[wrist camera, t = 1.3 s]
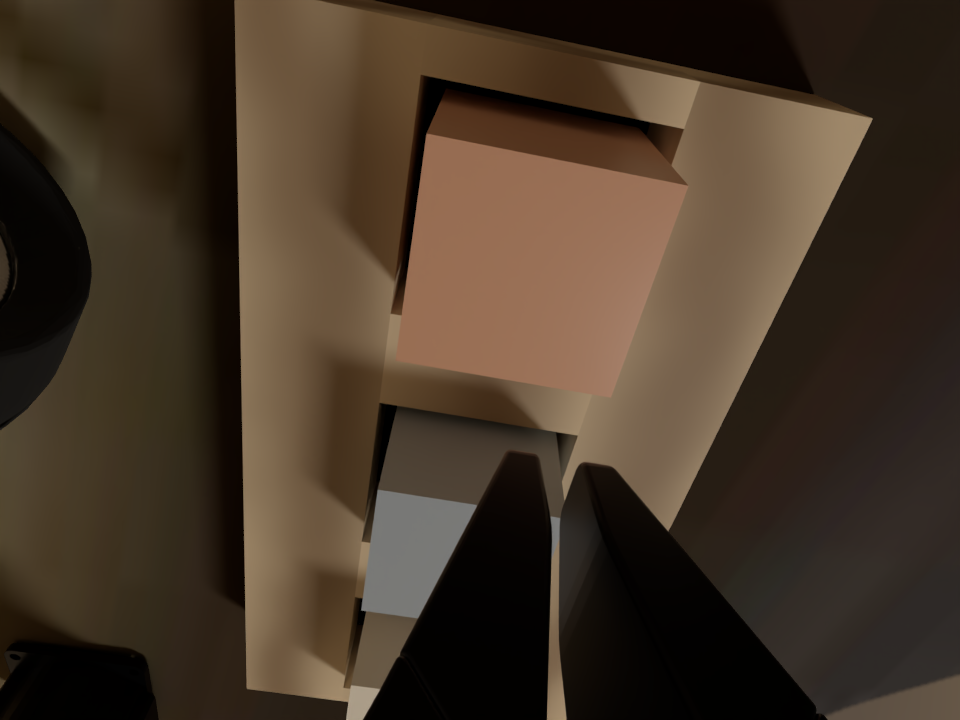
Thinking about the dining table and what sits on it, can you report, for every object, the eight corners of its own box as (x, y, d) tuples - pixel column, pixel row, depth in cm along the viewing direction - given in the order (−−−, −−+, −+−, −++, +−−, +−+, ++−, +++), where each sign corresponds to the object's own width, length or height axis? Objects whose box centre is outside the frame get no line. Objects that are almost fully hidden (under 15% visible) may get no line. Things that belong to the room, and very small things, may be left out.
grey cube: (386, 492, 23) (360, 610, 19) (403, 381, 20) (377, 489, 16) (520, 513, 23) (524, 633, 19) (552, 406, 21) (566, 518, 17)
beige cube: (364, 639, 28) (340, 760, 24) (375, 564, 25) (350, 685, 21) (476, 654, 28) (472, 776, 24) (498, 582, 26) (498, 704, 21)
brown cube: (419, 269, 18) (395, 360, 14) (446, 88, 16) (426, 133, 12) (585, 300, 19) (610, 397, 15) (639, 127, 16) (688, 185, 12)
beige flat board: (268, 625, 29) (247, 688, 27) (277, -21, 15) (234, -18, 13) (563, 666, 30) (569, 730, 28) (815, 94, 17) (873, 118, 14)
